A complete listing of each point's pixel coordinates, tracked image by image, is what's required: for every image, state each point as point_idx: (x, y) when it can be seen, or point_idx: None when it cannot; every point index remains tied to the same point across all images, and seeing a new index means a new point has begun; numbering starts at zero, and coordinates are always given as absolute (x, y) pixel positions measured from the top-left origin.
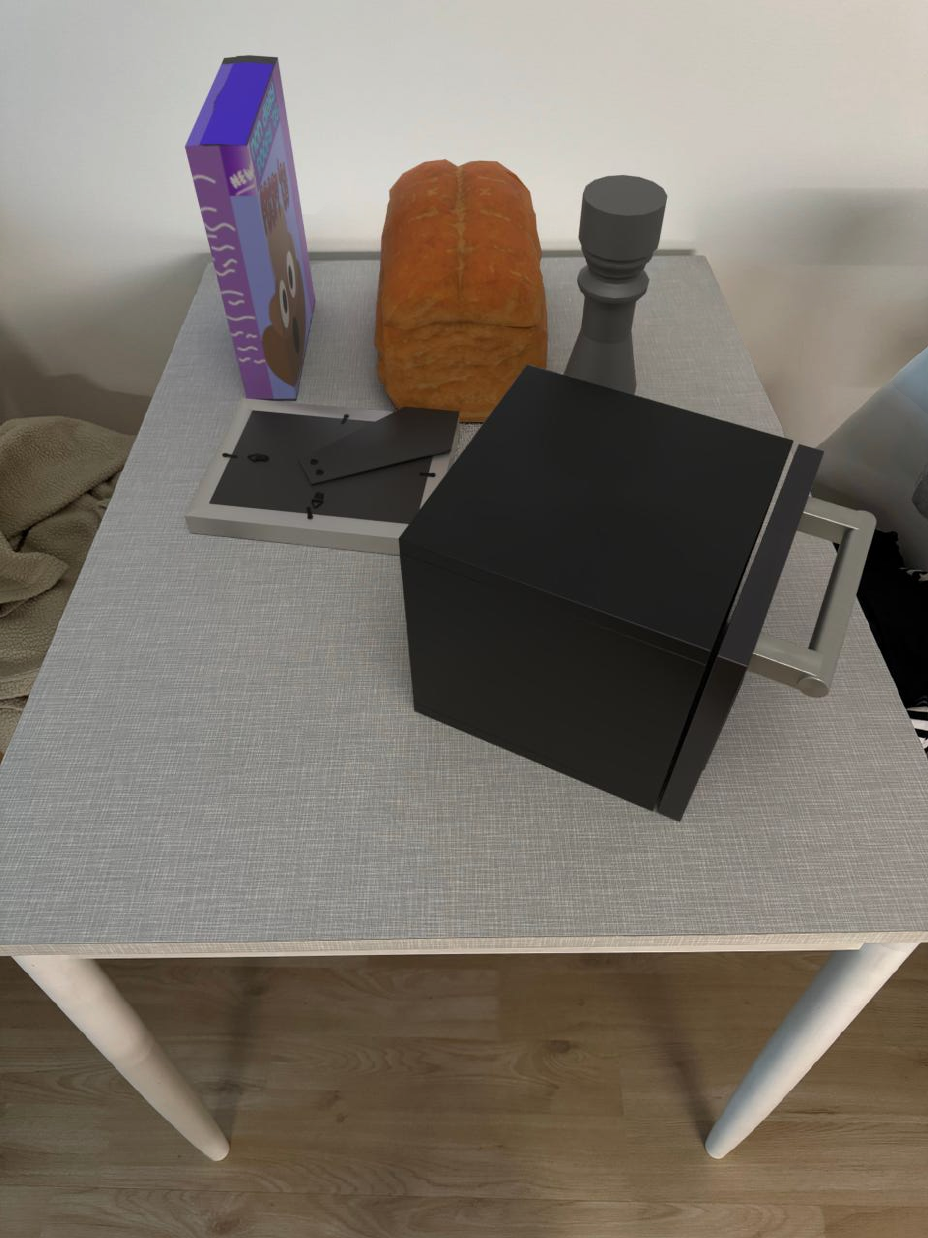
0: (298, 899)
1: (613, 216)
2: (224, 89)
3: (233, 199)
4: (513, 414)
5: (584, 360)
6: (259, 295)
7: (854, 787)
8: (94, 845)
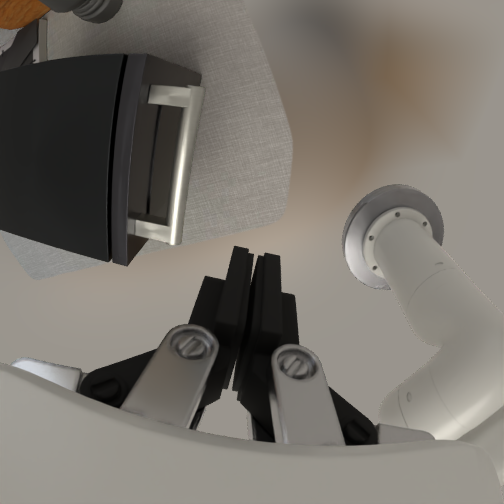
0: (75, 260)
1: None
2: None
3: None
4: None
5: (42, 2)
6: None
7: (260, 162)
8: (29, 256)
